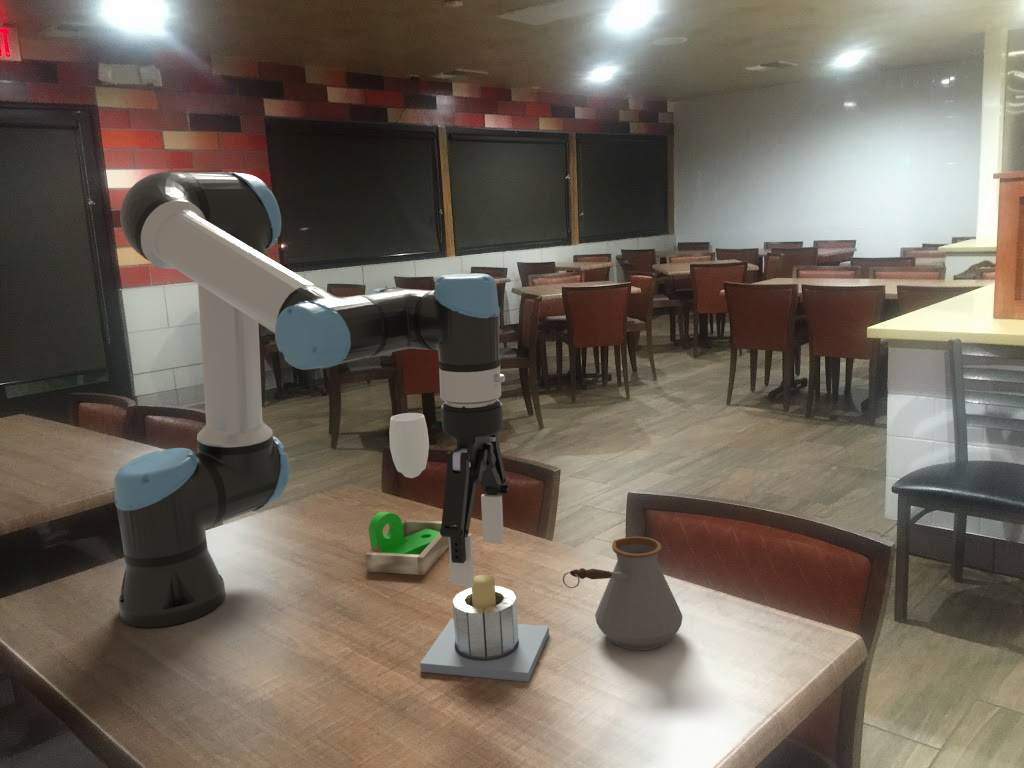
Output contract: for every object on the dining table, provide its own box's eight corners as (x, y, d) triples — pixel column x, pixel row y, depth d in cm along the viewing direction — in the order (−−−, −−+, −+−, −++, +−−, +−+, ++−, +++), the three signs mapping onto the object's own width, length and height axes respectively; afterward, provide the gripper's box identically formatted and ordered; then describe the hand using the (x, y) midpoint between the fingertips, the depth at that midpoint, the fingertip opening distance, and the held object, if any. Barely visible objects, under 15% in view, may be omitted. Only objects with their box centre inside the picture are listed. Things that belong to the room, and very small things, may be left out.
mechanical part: (394, 569, 138) (387, 523, 137) (373, 561, 142) (366, 516, 141) (449, 545, 146) (444, 501, 145) (428, 538, 150) (422, 496, 149)
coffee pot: (623, 608, 120) (621, 509, 117) (697, 629, 113) (696, 524, 110) (535, 676, 104) (529, 562, 101) (614, 705, 97) (611, 583, 94)
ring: (448, 654, 107) (444, 610, 106) (467, 624, 115) (464, 583, 114) (508, 659, 105) (506, 615, 104) (524, 629, 113) (521, 587, 111)
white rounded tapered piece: (442, 520, 160) (434, 413, 156) (418, 532, 154) (410, 422, 150) (412, 514, 164) (404, 410, 160) (388, 526, 158) (379, 419, 154)
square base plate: (420, 671, 106) (414, 596, 104) (451, 626, 118) (446, 558, 116) (528, 681, 103) (524, 604, 101) (549, 634, 114) (545, 563, 112)
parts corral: (367, 571, 138) (365, 554, 137) (403, 535, 153) (402, 519, 152) (424, 575, 135) (423, 557, 135) (455, 537, 150) (454, 521, 150)
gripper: (470, 427, 91) (478, 608, 95) (525, 380, 114) (529, 527, 119) (405, 425, 93) (416, 603, 97) (472, 379, 116) (478, 524, 121)
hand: (478, 561), depth 108 cm, fingers open, 13 cm apart
